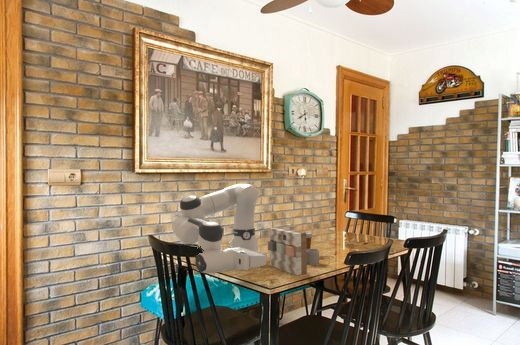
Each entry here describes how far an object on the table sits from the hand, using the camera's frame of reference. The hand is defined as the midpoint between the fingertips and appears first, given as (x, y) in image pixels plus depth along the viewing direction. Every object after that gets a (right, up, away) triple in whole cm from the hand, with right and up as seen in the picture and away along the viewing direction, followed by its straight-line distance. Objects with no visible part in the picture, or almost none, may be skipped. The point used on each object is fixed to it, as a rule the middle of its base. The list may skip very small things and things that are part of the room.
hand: (264, 254), depth 168 cm
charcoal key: (+4, -2, +20) cm, 20 cm away
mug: (+22, -10, +25) cm, 35 cm away
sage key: (+8, -2, +13) cm, 16 cm away
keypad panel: (+11, -10, +15) cm, 21 cm away
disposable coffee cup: (+22, -10, +46) cm, 52 cm away
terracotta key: (+12, -2, +7) cm, 14 cm away
